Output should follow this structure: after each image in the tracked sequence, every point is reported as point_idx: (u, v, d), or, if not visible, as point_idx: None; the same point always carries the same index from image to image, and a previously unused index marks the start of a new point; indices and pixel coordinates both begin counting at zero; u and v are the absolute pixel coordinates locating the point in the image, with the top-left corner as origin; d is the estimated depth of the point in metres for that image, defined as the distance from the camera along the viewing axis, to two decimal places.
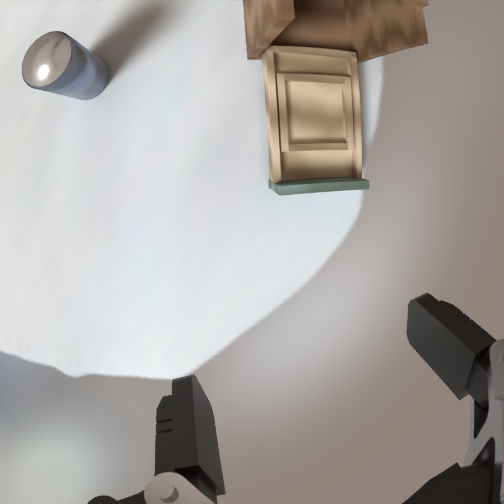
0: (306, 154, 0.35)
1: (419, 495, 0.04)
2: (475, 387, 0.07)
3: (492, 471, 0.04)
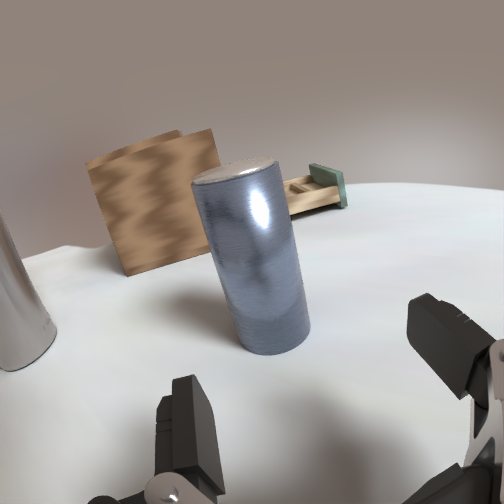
0: None
1: (419, 495, 0.04)
2: (475, 387, 0.07)
3: (492, 471, 0.04)
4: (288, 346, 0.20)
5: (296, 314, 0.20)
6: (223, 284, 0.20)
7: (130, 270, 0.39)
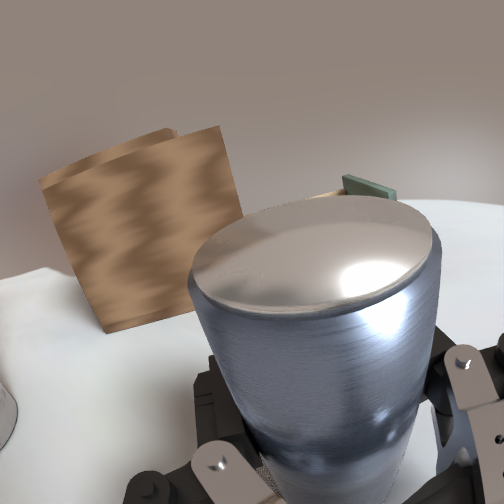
0: None
1: (419, 495, 0.04)
2: (433, 392, 0.07)
3: None
4: None
5: (391, 482, 0.08)
6: (268, 465, 0.08)
7: (109, 326, 0.27)
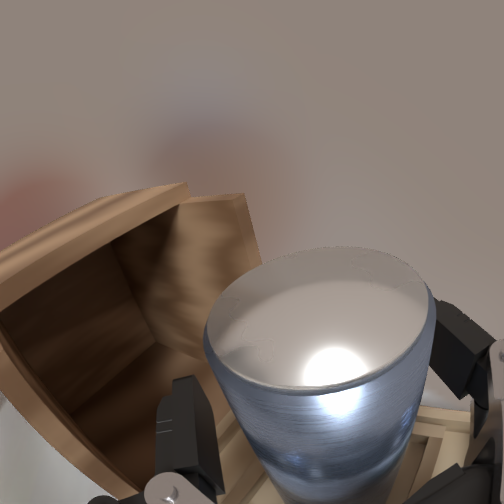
0: None
1: (419, 495, 0.04)
2: (475, 387, 0.07)
3: (492, 471, 0.04)
4: None
5: (386, 496, 0.09)
6: (274, 485, 0.08)
7: None
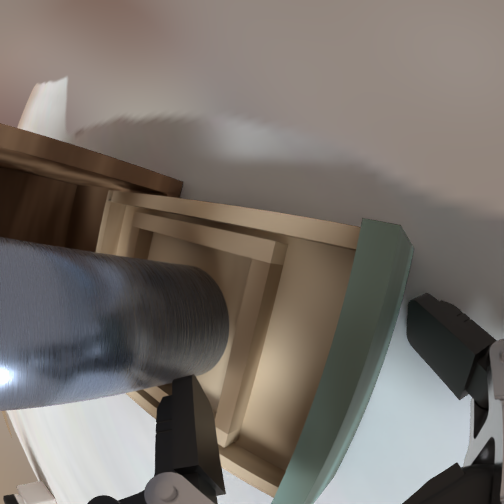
0: (264, 386, 0.12)
1: (419, 495, 0.04)
2: (475, 387, 0.07)
3: (492, 471, 0.04)
4: (205, 371, 0.13)
5: (182, 363, 0.11)
6: None
7: None
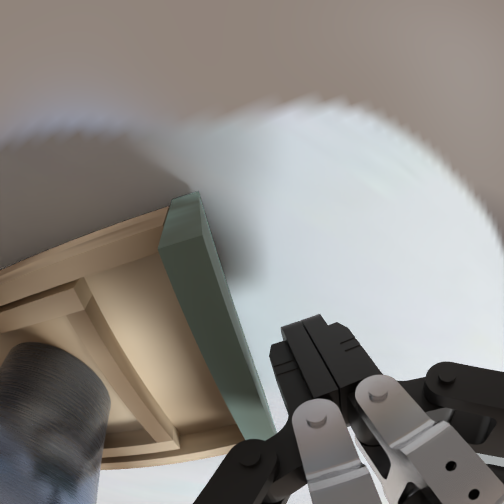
0: (161, 389, 0.12)
1: (419, 495, 0.04)
2: (351, 420, 0.08)
3: (492, 471, 0.04)
4: (109, 413, 0.11)
5: (98, 438, 0.09)
6: None
7: None
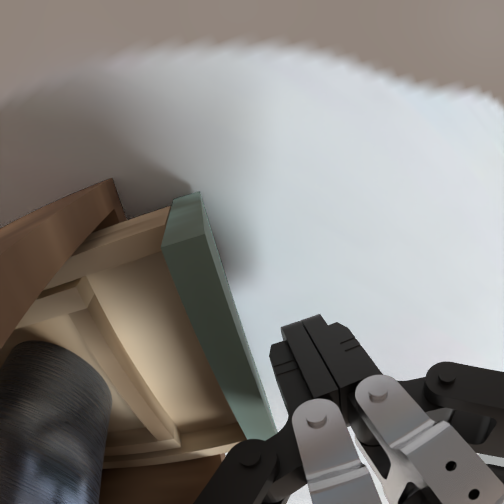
0: (162, 388, 0.12)
1: (419, 495, 0.04)
2: (352, 420, 0.08)
3: (492, 471, 0.04)
4: (110, 411, 0.11)
5: (101, 435, 0.09)
6: None
7: None
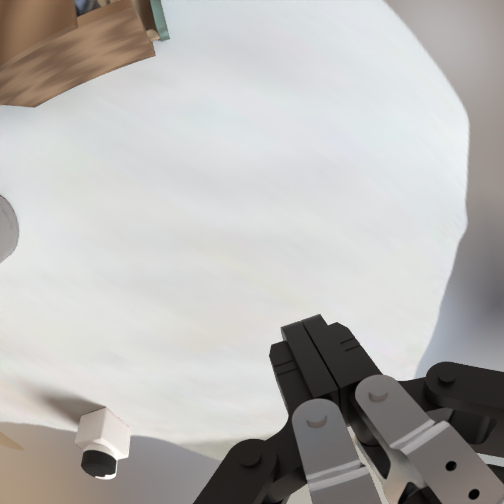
0: None
1: (419, 495, 0.04)
2: (352, 420, 0.08)
3: (492, 471, 0.04)
4: None
5: None
6: None
7: (37, 104, 0.26)
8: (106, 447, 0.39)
